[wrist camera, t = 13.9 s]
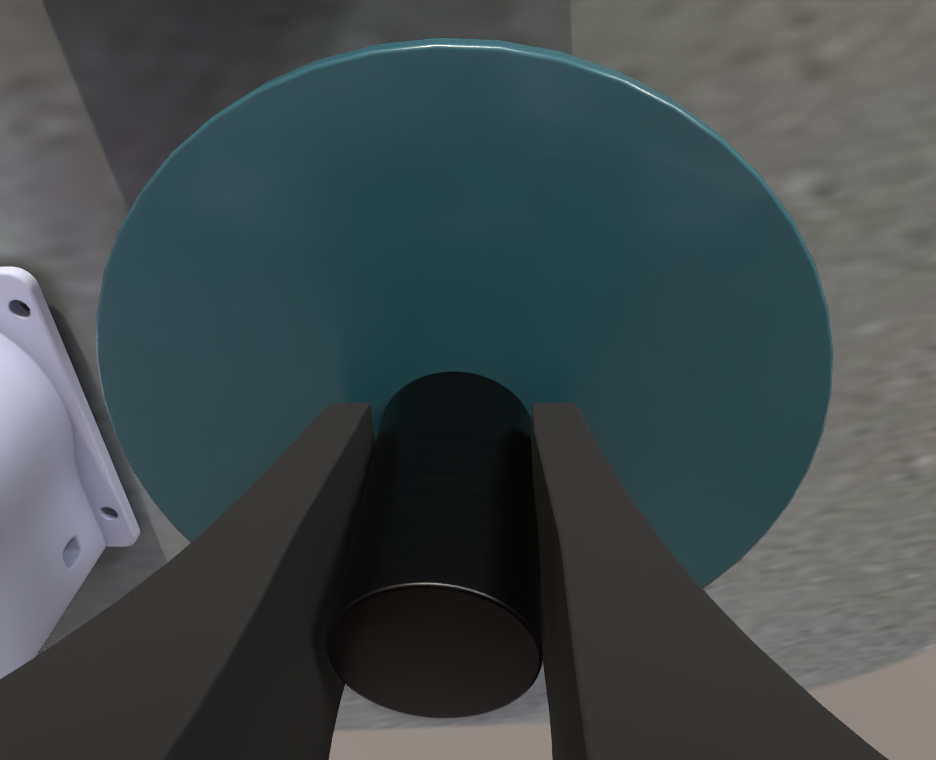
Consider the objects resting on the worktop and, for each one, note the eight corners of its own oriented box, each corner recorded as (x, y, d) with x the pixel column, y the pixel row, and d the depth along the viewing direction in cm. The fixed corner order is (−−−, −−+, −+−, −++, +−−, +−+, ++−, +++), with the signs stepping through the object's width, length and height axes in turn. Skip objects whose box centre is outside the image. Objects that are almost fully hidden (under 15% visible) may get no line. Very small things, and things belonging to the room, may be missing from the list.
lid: (739, 614, 15) (831, 898, 11) (216, 604, 15) (105, 866, 11) (902, 14, 9) (1285, 118, 4) (18, 44, 9) (-398, 158, 5)
